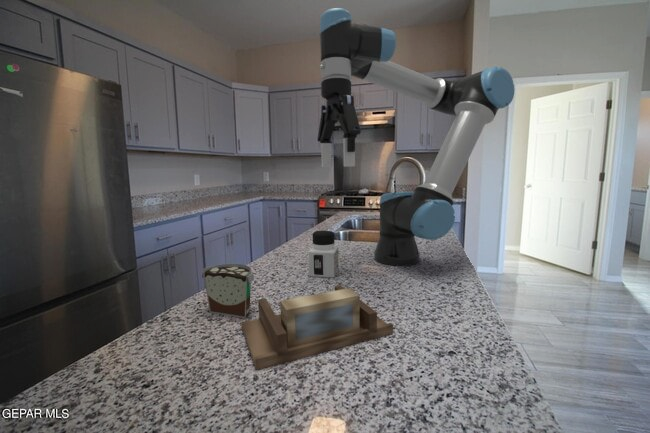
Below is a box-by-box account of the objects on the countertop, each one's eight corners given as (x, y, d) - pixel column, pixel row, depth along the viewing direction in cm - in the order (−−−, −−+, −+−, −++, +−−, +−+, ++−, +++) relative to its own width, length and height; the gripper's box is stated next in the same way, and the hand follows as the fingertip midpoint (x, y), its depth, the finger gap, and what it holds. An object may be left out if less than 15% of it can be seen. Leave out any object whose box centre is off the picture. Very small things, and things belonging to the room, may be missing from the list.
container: (334, 278, 90) (333, 234, 88) (308, 276, 92) (307, 233, 90) (338, 269, 98) (338, 228, 96) (314, 268, 99) (313, 228, 97)
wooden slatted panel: (354, 303, 73) (354, 282, 72) (392, 333, 59) (393, 308, 59) (241, 326, 63) (240, 303, 62) (256, 369, 49) (254, 340, 49)
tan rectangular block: (349, 321, 63) (349, 287, 61) (359, 331, 59) (359, 295, 58) (281, 336, 57) (279, 300, 56) (288, 349, 53) (286, 310, 52)
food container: (266, 307, 72) (264, 265, 71) (251, 319, 66) (249, 273, 65) (221, 300, 76) (218, 260, 75) (204, 311, 70) (200, 268, 69)
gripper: (305, 91, 88) (307, 167, 91) (345, 63, 65) (346, 166, 68) (329, 93, 90) (330, 167, 94) (376, 67, 68) (375, 165, 71)
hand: (337, 167), depth 81 cm, fingers open, 13 cm apart
